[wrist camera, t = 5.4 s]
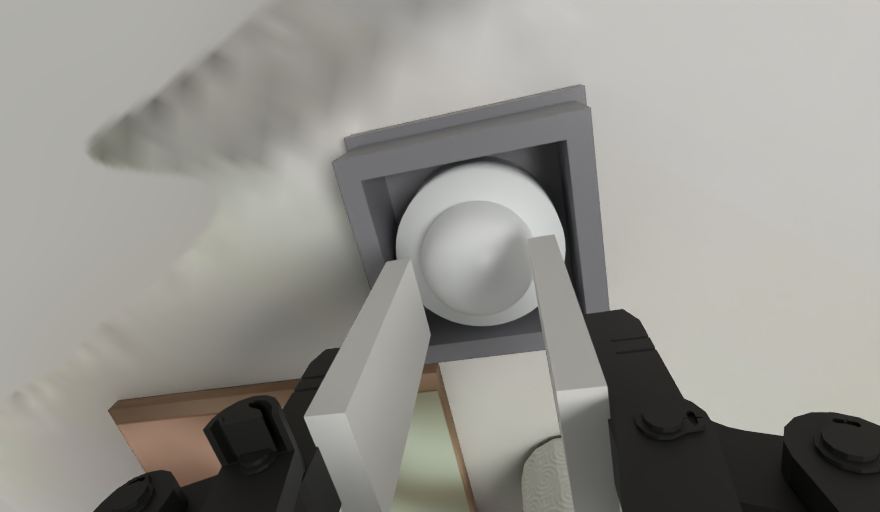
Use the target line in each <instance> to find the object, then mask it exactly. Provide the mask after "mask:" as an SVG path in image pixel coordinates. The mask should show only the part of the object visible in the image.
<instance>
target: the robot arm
mask: <svg viewBox="0 0 880 512" xmlns="http://www.w3.org/2000/svg"><path fill="white" fill-rule="evenodd" d="M527 240H528V246H529V253H530V259H531V265H532V272H533V278H534V284H535V290H536V297H537V303H538V309H539V316H540V322H541V327H542V333H543V339H544V344H545V350H546V355H547V361H548V366H549V372H550V378H551V383H552V389H553V394H554V400H555V406H556V411H557V417H558V422H559V428H560V433H561V439H562V445H563V450H564V456H565V461H566V467H567V472H568V478H569V484H570V489H571V495H572V500H573V506H574V512H620V505H621V509H622V512H880V426H879V425H876V424H874V423H871V422H869V421H866V420H864V419H861V418H859V417H854V416H849V415H844V414H839V413H834V412H811V413H808V414H804V415H801V416H798V417H794V418H793V419H792V420H791V421H790V422H789V423H788V424H787V425H786V426H785V427H784V436H779V435H772V434H765V433H758V432H751V431H744V430H739V429H735V428H730V427H726V426H724V425H721V424H718V423H716V422H713V421H711V420H710V418H709V417H708V415H707V413H706V412H705V411H704V410H702V409H701V408H699V407H698V406H697V405H695V404H694V403H693V402H691V401H688V400H686V399H684V398H683V396H682V394H681V393H680V391H679V389H678V387H677V385H676V384H675V382H674V380H673V378H672V377H671V375H670V373H669V371H668V370H667V368H666V366H665V364H664V362H663V361H662V359H661V357H660V355H659V354H658V352H657V350H655V346H654V345H653V343H652V341H651V339H650V338H648V334H647V332H646V330H645V329H644V327H643V325H642V323H641V322H640V320H639V319H637V318H636V317H634V316H633V315H631V314H630V313H628V312H626V311H625V310H623V309H620V310H613V311H605V312H598V313H590V314H582V312H581V309H580V306H579V303H578V301H577V298H576V295H575V292H574V289H573V286H572V283H571V281H570V278H569V275H568V272H567V269H566V266H565V263H564V261H563V258H562V255H561V252H560V249H559V246H558V243H557V240H556V238H555V235H554V234H552V235H546V236H540V237H534V238H528V239H527ZM430 336H431V333H430V330H429V326H428V322H427V318H426V314H425V311H424V307H423V303H422V299H421V295H420V292H419V288H418V284H417V280H416V277H415V273H414V269H413V265H412V261H411V258H406V259H400V260H394V261H387V262H386V264H385V265H384V267H383V269H382V271H381V273H380V275H379V277H378V278H377V280H376V282H375V284H374V286H373V288H372V290H371V292H370V293H369V295H368V297H367V299H366V301H365V303H364V305H363V307H362V308H361V310H360V312H359V314H358V316H357V318H356V320H355V322H354V323H353V325H352V327H351V329H350V331H349V333H348V335H347V336H346V338H345V340H344V342H343V344H342V346H341V348H333V349H326V350H325V351H323V352H322V353H321V354H320V355H319V356H318V357H317V358H316V359H314V360H313V361H312V362H311V363H310V365H309V366H308V368H307V369H306V371H305V373H304V374H303V376H302V380H301V381H299V383H298V384H297V386H296V388H295V389H294V393H292V394H291V396H290V398H289V399H288V401H287V402H286V404H285V406H284V407H283V409H282V408H281V405H280V403H279V402H278V401H277V399H276V398H275V397H272V396H268V395H260V396H252V397H249V398H246V399H243V400H240V401H238V402H236V403H234V404H232V405H230V406H229V407H227V408H225V409H223V410H222V411H221V412H220V413H218V414H217V415H216V416H215V417H213V418H212V419H211V420H210V422H209V423H208V424H207V425H206V427H205V428H204V429H203V432H204V434H205V436H206V437H207V439H208V441H209V443H210V445H211V447H212V449H213V451H214V453H215V455H216V456H217V458H218V460H219V462H220V464H221V466H222V467H221V469H220V471H219V473H218V475H215V476H212V477H209V478H206V479H203V480H200V481H198V482H195V483H192V484H189V485H186V486H183V487H180V485H179V484H178V482H177V480H176V479H175V477H174V475H173V474H172V472H170V471H166V470H157V471H152V472H147V473H145V474H143V475H140V476H138V477H135V478H133V479H131V480H130V481H128V482H127V483H126V484H124V485H123V486H121V487H119V488H118V489H116V490H115V491H114V492H113V493H112V494H111V495H110V496H109V497H107V498H106V499H105V500H104V501H103V502H102V503H101V504H100V505H99V506H98V507H97V508H96V509H95V510H94V511H93V512H339V511H340V508H342V511H343V512H390V510H391V506H392V502H393V497H394V493H395V489H396V484H397V480H398V476H399V471H400V467H401V463H402V458H403V454H404V449H405V445H406V441H407V436H408V432H409V428H410V423H411V419H412V415H413V410H414V406H415V402H416V397H417V393H418V389H419V384H420V380H421V375H422V371H423V367H424V362H425V358H426V354H427V349H428V345H429V341H430ZM619 502H620V505H619Z"/></svg>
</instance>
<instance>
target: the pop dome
mask: <svg viewBox="0 0 880 512" xmlns="http://www.w3.org/2000/svg"><path fill="white" fill-rule="evenodd" d="M552 234H554V235H555V238H556V240H557V243H558V246H559V249H560V252H561V255H562V258H563V261H565V251H566V248H565V237H564V232H563V228H562V225H561V222H560V220H559V217H558V215H557V212H556V210H555V208H554V205H553V203H552V200H551V198H550V196H549V194H548V193H547V191H546V189H545V188H544V187H543V185H542V184H541V183H540V181H539V180H538V179H537V178H536V177H535V176H534V175H532V174H531V173H530V172H529V171H527V170H526V169H524V168H523V167H521V166H519V165H518V164H515V163H513V162H511V161H508V160H505V159H501V158H498V157H490V156H482V157H477V158H472V159H467V160H462V161H457V162H452V163H448V164H446V165H445V166H443V167H441V168H439V169H438V170H437V171H435V172H434V173H433V174H431V175H430V176H429V177H428V178H427V179H426V180H425V181H424V182H423V184H422V185H421V187H420V188H419V189H418V191H417V192H416V194H415V196H414V198H413V199H412V201H411V203H410V204H409V206H408V208H407V210H406V211H405V213H404V215H403V217H402V220H401V222H400V225H399V228H398V233H397V238H396V257H397V260H400V259H406V258H411V261H412V265H413V269H414V273H415V277H416V280H417V284H418V288H419V292H420V295H421V299H422V303H423V305H424V306H425V307H426V308H428V309H429V310H431V311H432V312H434V313H435V314H437V315H439V316H441V317H443V318H445V319H447V320H450V321H453V322H456V323H460V324H464V325H471V326H493V325H499V324H504V323H507V322H510V321H513V320H516V319H518V318H520V317H522V316H524V315H526V314H528V313H529V312H531V311H532V310H534V309H535V308H536V307H538V303H537V297H536V290H535V284H534V278H533V272H532V265H531V259H530V253H529V246H528V240H527V239H528V238H534V237H540V236H546V235H552Z"/></svg>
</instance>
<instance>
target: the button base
mask: <svg viewBox="0 0 880 512" xmlns="http://www.w3.org/2000/svg"><path fill="white" fill-rule="evenodd" d="M344 140H345V144H346V147H347V151H348V152H347V153H346V154H344V155H342V156H341V157H339V158H337V159H336V160H334V161H333V162H332V165H333V168H334V171H335V175H336V178H337V181H338V184H339V188H340V191H341V194H342V197H343V201H344V204H345V207H346V210H347V214H348V217H349V220H350V223H351V227H352V230H353V233H354V236H355V240H356V243H357V246H358V249H359V253H360V256H361V259H362V263H363V266H364V269H365V272H366V276H367V279H368V282H369V285H370V289H371V290H372V288H373V286H374V284H375V282H376V280H377V278H378V277H379V275H380V273H381V271H382V269H383V267H384V265H385V264H386V262H387V261H394V260H397V257H396V238H397V233H398V228H399V225H400V222H401V220H402V217H403V215H404V213H405V211H406V210H407V208H408V206H409V204H410V203H411V201H412V199H413V198H414V196H415V194H416V192H417V191H418V189H419V188H420V187H421V185H422V184H423V182H424V181H425V180H426V179H427V178H428V177H429V176H430V175H431V174H433V173H434V172H435V171H437V170H438V169H439V168H441V167H443V166H445V165H446V164H448V163H452V162H457V161H462V160H467V159H472V158H477V157H482V156H490V157H498V158H501V159H505V160H508V161H511V162H513V163H515V164H518V165H519V166H521V167H523V168H524V169H526V170H527V171H529V172H530V173H531V174H532V175H534V176H535V177H536V178H537V179H538V180H539V181H540V183H541V184H542V185H543V187H544V188H545V189H546V191H547V193H548V194H549V196H550V198H551V200H552V203H553V205H554V208H555V210H556V212H557V215H558V217H559V220H560V222H561V225H562V228H563V232H564V237H565V248H566V251H565V261H564V263H565V266H566V269H567V272H568V275H569V278H570V281H571V283H572V286H573V289H574V292H575V295H576V298H577V301H578V303H579V306H580V309H581V312H582V314H590V313H598V312H605V311H610V309H609V298H608V288H607V277H606V266H605V255H604V245H603V234H602V223H601V213H600V202H599V191H598V180H597V170H596V159H595V148H594V137H593V127H592V116H591V107H588V106H587V103H586V92H585V86H584V85H575V86H571V87H566V88H562V89H557V90H553V91H548V92H543V93H539V94H534V95H530V96H525V97H521V98H516V99H512V100H507V101H503V102H498V103H494V104H489V105H484V106H480V107H475V108H471V109H466V110H462V111H457V112H453V113H448V114H444V115H439V116H435V117H430V118H425V119H421V120H416V121H412V122H407V123H403V124H398V125H394V126H389V127H385V128H380V129H376V130H371V131H366V132H362V133H357V134H353V135H350V136H348V137H346V138H344ZM423 307H424V311H425V314H426V318H427V322H428V326H429V330H430V333H431V336H430V341H429V345H428V349H427V354H426V358H425V362H424V364H430V363H439V362H447V361H455V360H464V359H472V358H481V357H489V356H497V355H506V354H514V353H523V352H531V351H540V350H545V344H544V339H543V333H542V327H541V322H540V316H539V309H538V307H536V308H535V309H534V310H532V311H531V312H529V313H528V314H526V315H524V316H522V317H520V318H518V319H516V320H513V321H510V322H507V323H504V324H499V325H493V326H471V325H464V324H460V323H456V322H453V321H450V320H447V319H445V318H443V317H441V316H439V315H437V314H435V313H434V312H432V311H431V310H429V309H428V308H426V307H425V306H424V305H423Z"/></svg>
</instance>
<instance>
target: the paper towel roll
mask: <svg viewBox="0 0 880 512" xmlns="http://www.w3.org/2000/svg"><path fill="white" fill-rule="evenodd" d="M521 485H522V501H523V512H574V506H573V500H572V495H571V489H570V484H569V478H568V472H567V467H566V461H565V456H564V450H563V445H562V439H561V438H556V439H553V440H551V441H549V442H547V443H545V444H544V445H542V446H540V447H538V448H536V449H535V450H534V452H533V453H532V454H531V456H530V457H529V458H528V459H527V461H526V462H525V464H524V468H523V474H522V480H521ZM619 505H620V502H619ZM620 512H622V509H621V505H620Z"/></svg>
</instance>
